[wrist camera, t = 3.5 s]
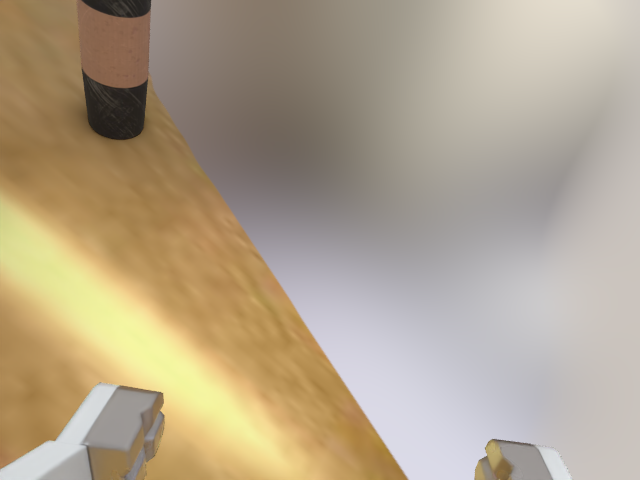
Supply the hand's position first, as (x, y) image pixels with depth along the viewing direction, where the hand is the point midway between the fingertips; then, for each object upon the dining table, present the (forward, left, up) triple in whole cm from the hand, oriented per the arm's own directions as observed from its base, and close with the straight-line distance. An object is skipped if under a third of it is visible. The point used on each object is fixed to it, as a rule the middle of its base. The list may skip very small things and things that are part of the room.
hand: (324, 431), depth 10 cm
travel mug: (-26, +44, -34) cm, 61 cm away
